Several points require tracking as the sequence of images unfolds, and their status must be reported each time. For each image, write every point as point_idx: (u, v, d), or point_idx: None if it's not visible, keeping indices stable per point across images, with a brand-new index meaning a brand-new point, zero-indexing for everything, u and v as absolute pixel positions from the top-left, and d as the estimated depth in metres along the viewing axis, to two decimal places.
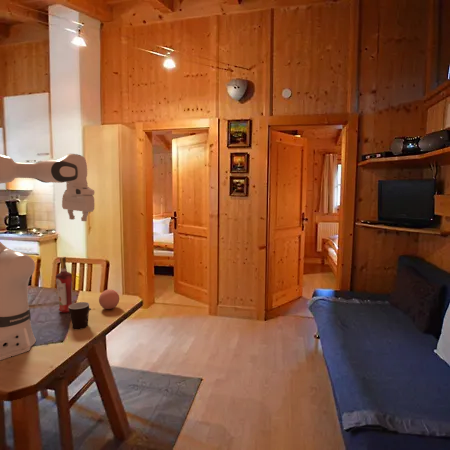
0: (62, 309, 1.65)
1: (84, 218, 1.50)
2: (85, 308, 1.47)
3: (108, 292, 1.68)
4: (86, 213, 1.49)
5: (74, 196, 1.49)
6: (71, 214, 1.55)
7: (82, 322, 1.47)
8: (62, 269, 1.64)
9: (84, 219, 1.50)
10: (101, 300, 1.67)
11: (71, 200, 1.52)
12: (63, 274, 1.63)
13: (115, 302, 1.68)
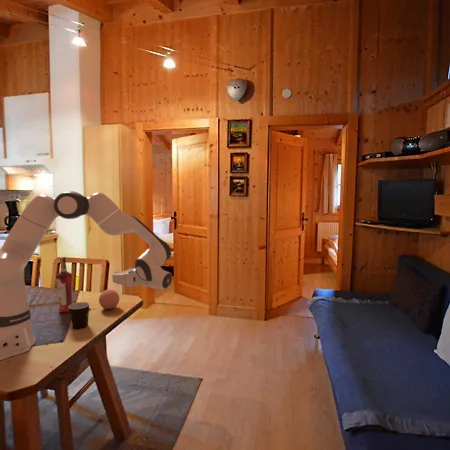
0: (62, 309, 1.65)
1: (116, 273, 1.56)
2: (85, 308, 1.47)
3: (108, 292, 1.68)
4: None
5: None
6: None
7: (82, 322, 1.47)
8: (62, 269, 1.64)
9: (116, 273, 1.56)
10: (101, 300, 1.67)
11: None
12: (63, 274, 1.63)
13: (115, 302, 1.68)
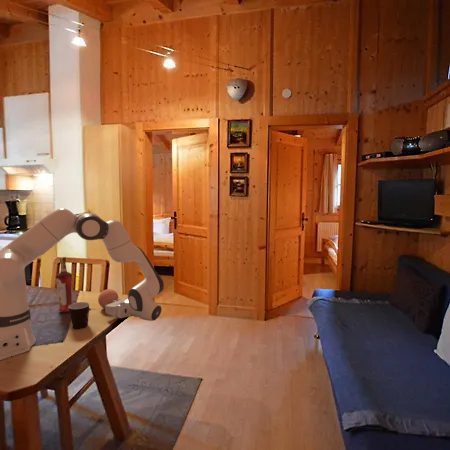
0: (62, 309, 1.65)
1: (114, 301, 1.67)
2: (85, 308, 1.47)
3: (106, 291, 1.69)
4: None
5: None
6: (119, 301, 1.68)
7: (82, 322, 1.47)
8: (62, 269, 1.64)
9: (113, 301, 1.67)
10: (100, 299, 1.67)
11: None
12: (63, 274, 1.63)
13: None
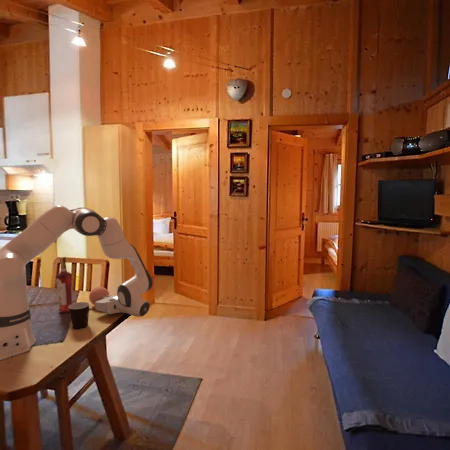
0: (62, 309, 1.65)
1: (104, 298, 1.71)
2: (85, 308, 1.47)
3: None
4: None
5: None
6: None
7: (82, 322, 1.47)
8: (62, 269, 1.64)
9: (103, 298, 1.71)
10: (90, 297, 1.72)
11: None
12: (63, 274, 1.63)
13: (100, 288, 1.74)
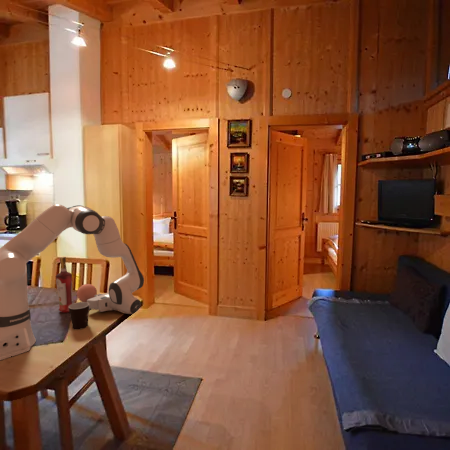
0: (62, 309, 1.65)
1: (96, 296, 1.74)
2: (85, 308, 1.47)
3: None
4: None
5: None
6: None
7: (82, 322, 1.47)
8: (62, 269, 1.64)
9: (95, 296, 1.75)
10: (79, 298, 1.77)
11: None
12: (63, 274, 1.63)
13: None
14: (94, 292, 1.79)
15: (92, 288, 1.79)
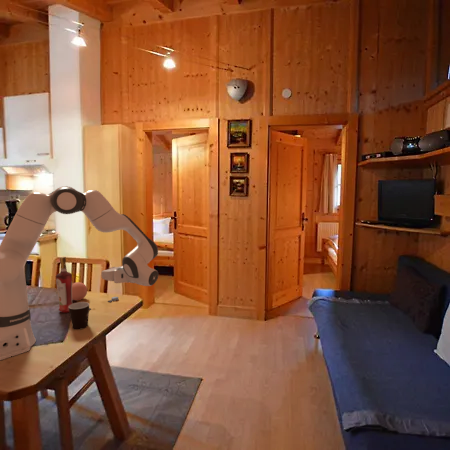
0: (62, 309, 1.65)
1: (110, 269, 1.65)
2: (85, 308, 1.47)
3: (82, 296, 1.81)
4: None
5: None
6: None
7: (82, 322, 1.47)
8: (62, 269, 1.64)
9: (110, 269, 1.65)
10: (72, 295, 1.79)
11: None
12: (63, 274, 1.63)
13: None
14: (77, 282, 1.84)
15: None
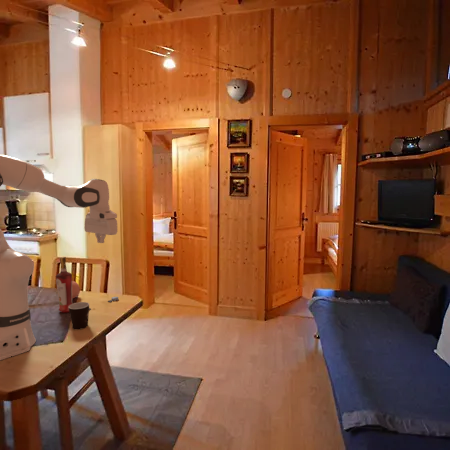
0: (62, 309, 1.65)
1: (102, 240, 1.56)
2: (85, 308, 1.47)
3: (72, 284, 1.83)
4: (104, 235, 1.55)
5: (97, 220, 1.53)
6: (99, 237, 1.57)
7: (82, 322, 1.47)
8: (62, 269, 1.64)
9: (102, 241, 1.56)
10: None
11: (94, 223, 1.56)
12: (63, 274, 1.63)
13: (76, 294, 1.85)
14: None
15: None
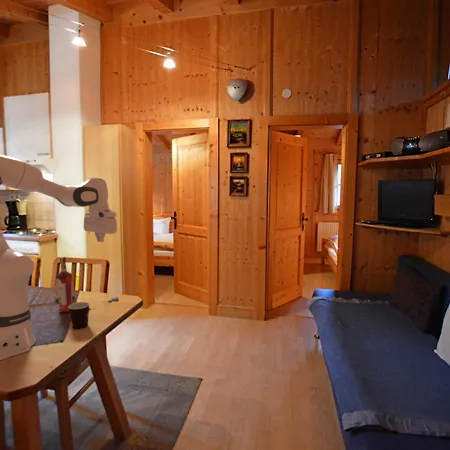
0: (62, 309, 1.65)
1: (101, 239, 1.56)
2: (85, 308, 1.47)
3: None
4: (103, 234, 1.55)
5: (97, 219, 1.52)
6: (98, 236, 1.57)
7: (82, 322, 1.47)
8: (62, 269, 1.64)
9: (101, 240, 1.56)
10: (56, 288, 1.84)
11: (93, 222, 1.56)
12: (63, 274, 1.63)
13: None
14: None
15: None
